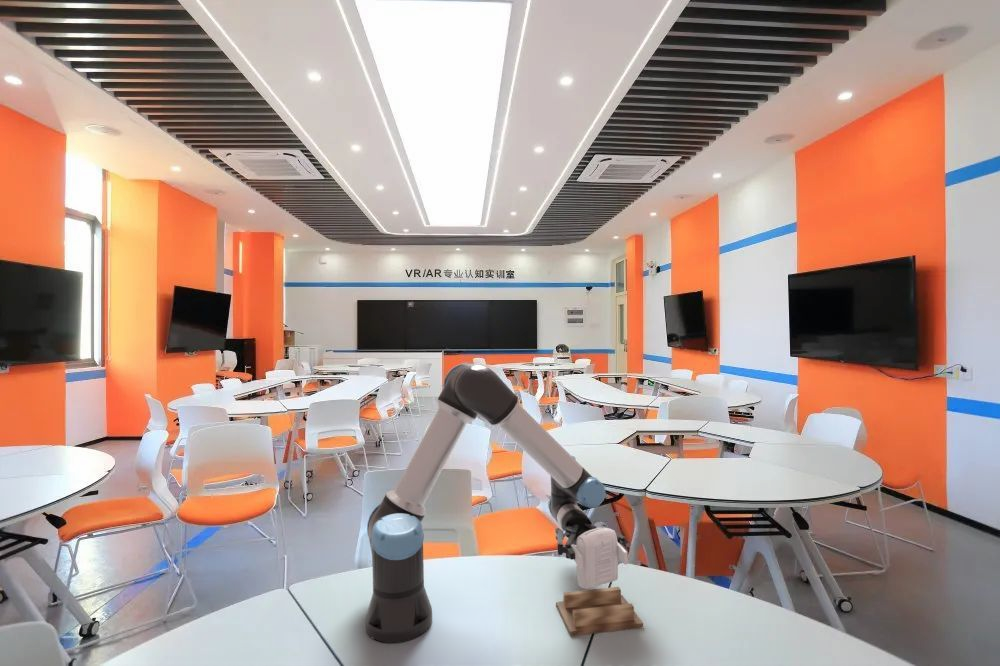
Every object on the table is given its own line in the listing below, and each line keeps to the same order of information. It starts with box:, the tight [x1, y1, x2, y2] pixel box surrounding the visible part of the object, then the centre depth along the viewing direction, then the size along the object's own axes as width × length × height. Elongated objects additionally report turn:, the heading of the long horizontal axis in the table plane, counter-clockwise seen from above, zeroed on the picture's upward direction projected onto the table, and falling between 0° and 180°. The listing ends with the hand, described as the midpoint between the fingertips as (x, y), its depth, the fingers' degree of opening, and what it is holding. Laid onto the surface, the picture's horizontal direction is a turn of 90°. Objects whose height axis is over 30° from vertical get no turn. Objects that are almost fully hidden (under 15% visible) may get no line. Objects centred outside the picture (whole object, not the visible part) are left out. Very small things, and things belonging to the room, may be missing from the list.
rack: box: [555, 586, 644, 637], centre depth 114 cm, size 17×12×4 cm
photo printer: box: [576, 527, 619, 590], centre depth 114 cm, size 10×4×12 cm, turn 116°
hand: (603, 560), depth 110 cm, fingers closed on photo printer, 10 cm apart
